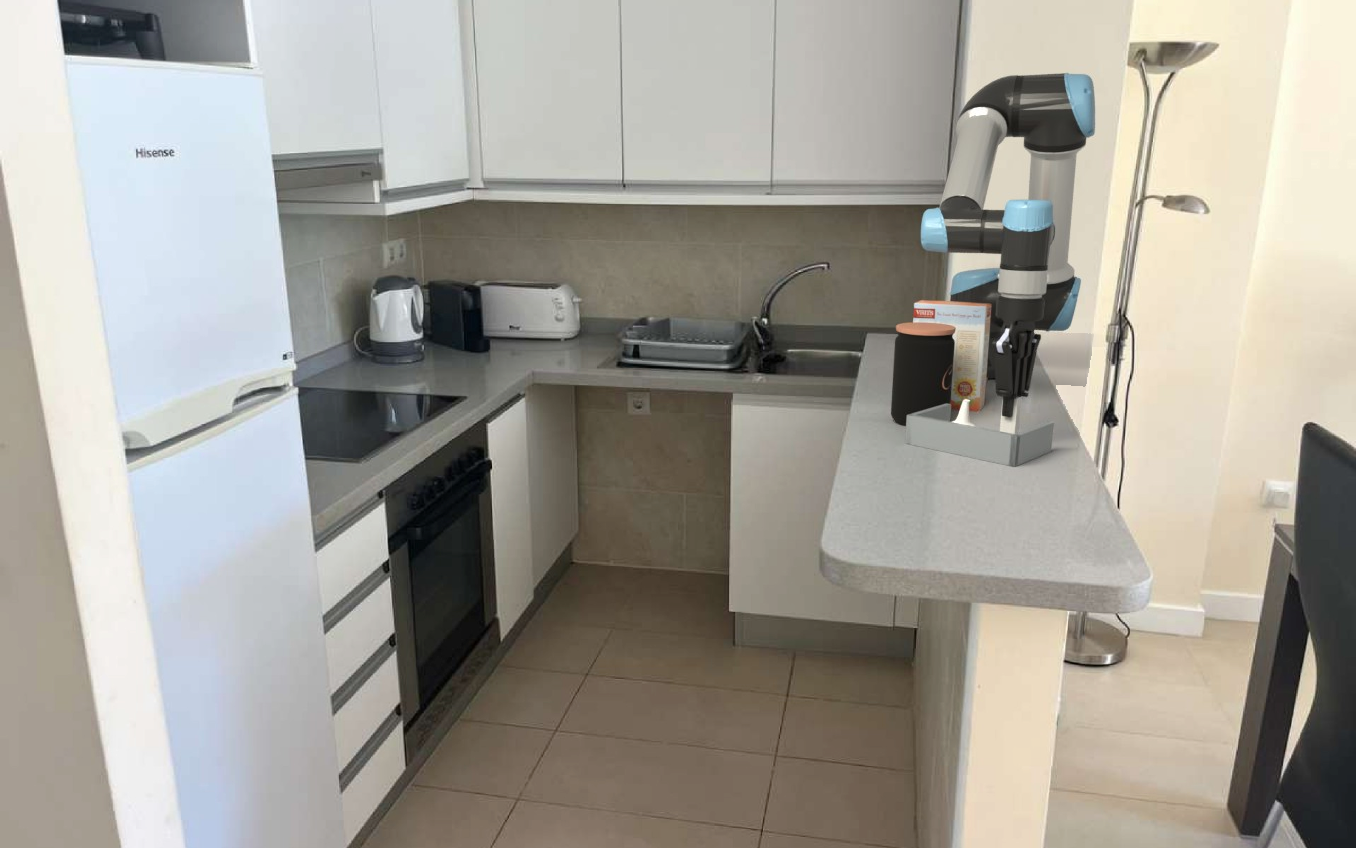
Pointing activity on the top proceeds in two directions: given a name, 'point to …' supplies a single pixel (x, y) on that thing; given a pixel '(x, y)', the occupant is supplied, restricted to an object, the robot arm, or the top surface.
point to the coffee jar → (921, 368)
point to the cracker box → (963, 345)
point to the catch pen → (976, 438)
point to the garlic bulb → (964, 414)
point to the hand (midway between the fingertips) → (1008, 434)
